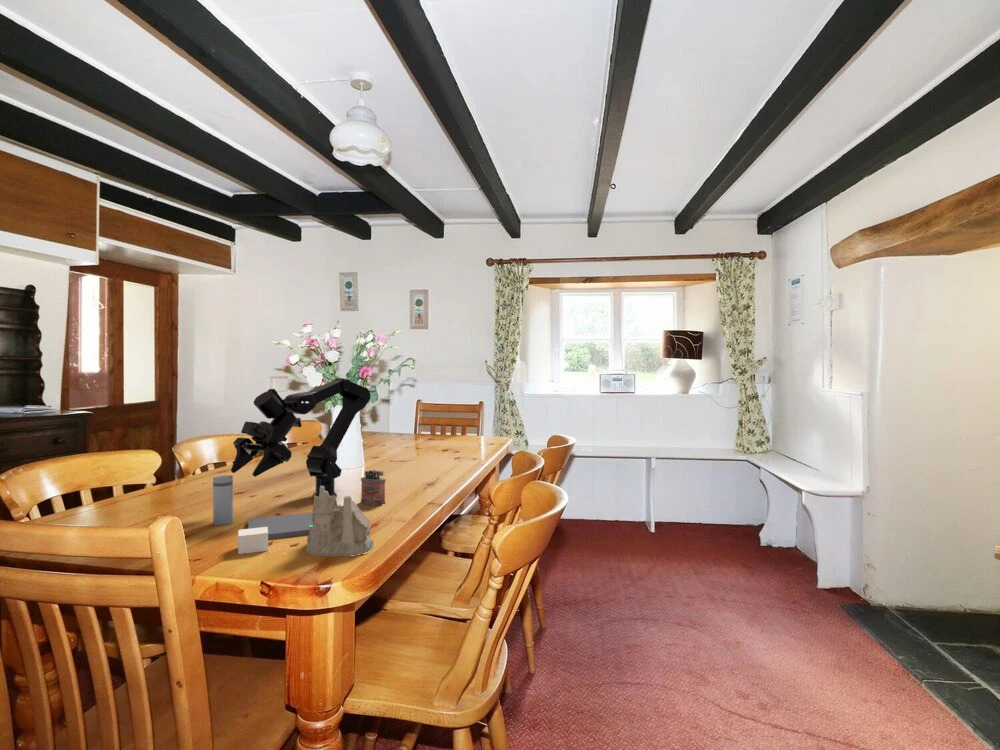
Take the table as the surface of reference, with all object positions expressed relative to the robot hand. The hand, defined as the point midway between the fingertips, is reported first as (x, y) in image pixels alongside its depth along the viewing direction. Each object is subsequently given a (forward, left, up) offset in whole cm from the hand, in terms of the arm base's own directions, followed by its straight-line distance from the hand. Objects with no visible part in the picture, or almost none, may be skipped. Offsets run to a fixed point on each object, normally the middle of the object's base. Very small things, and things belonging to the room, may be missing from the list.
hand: (242, 473), depth 145 cm
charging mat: (+18, +8, -12) cm, 24 cm away
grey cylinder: (+3, -5, -12) cm, 13 cm away
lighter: (-2, +35, -12) cm, 38 cm away
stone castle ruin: (+33, +21, -12) cm, 41 cm away
